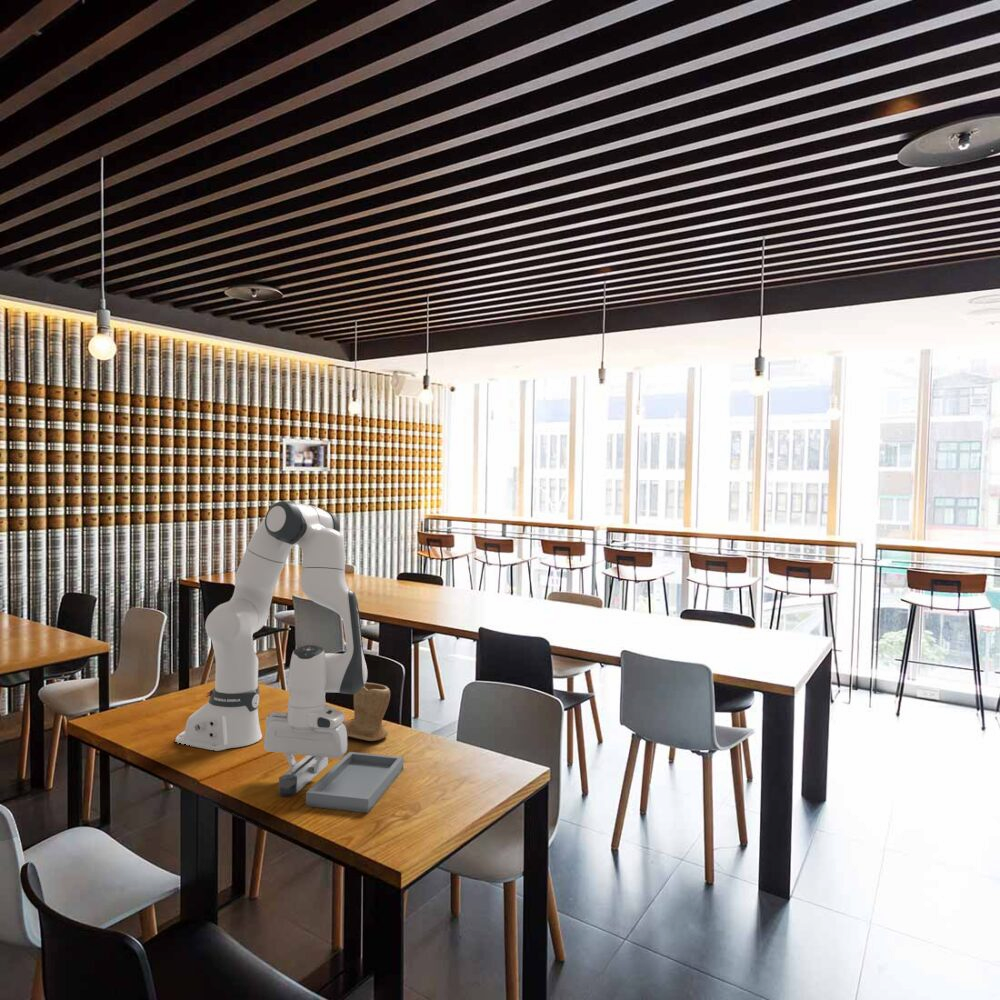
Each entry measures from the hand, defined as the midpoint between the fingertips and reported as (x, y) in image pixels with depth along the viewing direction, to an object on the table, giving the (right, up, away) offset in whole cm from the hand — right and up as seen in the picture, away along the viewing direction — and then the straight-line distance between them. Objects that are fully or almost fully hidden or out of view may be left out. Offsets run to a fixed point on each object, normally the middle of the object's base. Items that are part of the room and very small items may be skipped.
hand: (304, 771), depth 166 cm
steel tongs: (0, -2, 0) cm, 2 cm away
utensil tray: (+14, -2, -3) cm, 14 cm away
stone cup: (+8, -2, +31) cm, 32 cm away
